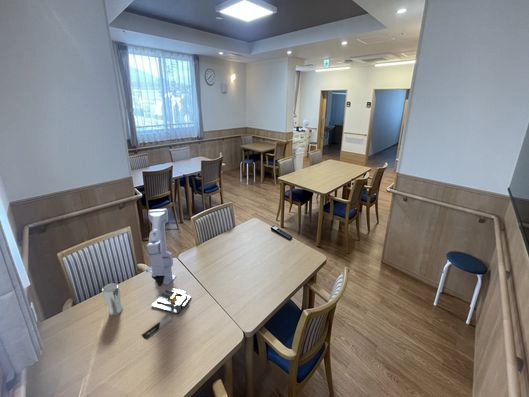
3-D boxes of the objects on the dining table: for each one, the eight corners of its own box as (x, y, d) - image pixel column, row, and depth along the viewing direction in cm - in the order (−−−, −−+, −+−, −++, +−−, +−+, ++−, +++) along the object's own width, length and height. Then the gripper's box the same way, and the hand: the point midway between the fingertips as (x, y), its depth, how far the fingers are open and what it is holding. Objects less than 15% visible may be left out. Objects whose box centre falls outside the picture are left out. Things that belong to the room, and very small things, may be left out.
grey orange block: (170, 303, 131) (169, 298, 130) (175, 298, 134) (174, 293, 133) (183, 307, 129) (183, 302, 127) (188, 301, 132) (187, 296, 131)
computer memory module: (169, 314, 126) (174, 318, 123) (170, 315, 126) (174, 319, 124) (141, 334, 115) (145, 339, 113) (141, 335, 115) (146, 340, 113)
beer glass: (108, 318, 123) (101, 294, 118) (108, 308, 129) (102, 285, 123) (124, 313, 126) (118, 289, 121) (124, 303, 132) (118, 281, 126)
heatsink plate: (151, 307, 130) (150, 301, 129) (166, 291, 141) (165, 285, 139) (178, 314, 126) (177, 308, 124) (191, 298, 137) (190, 292, 135)
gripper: (139, 265, 124) (143, 286, 129) (163, 271, 120) (167, 293, 126) (149, 257, 131) (153, 278, 136) (173, 262, 127) (176, 283, 132)
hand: (160, 284), depth 131 cm, fingers closed
